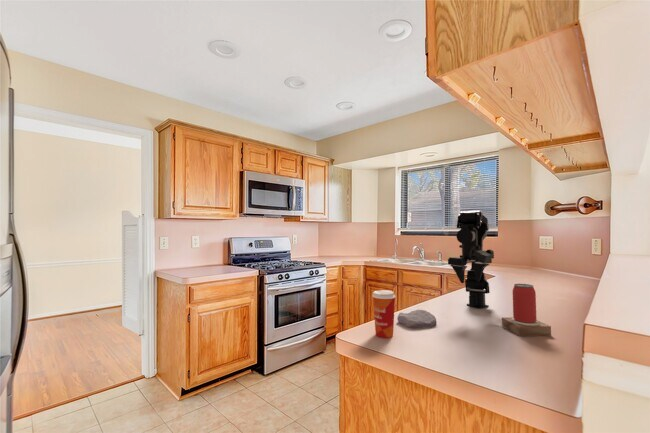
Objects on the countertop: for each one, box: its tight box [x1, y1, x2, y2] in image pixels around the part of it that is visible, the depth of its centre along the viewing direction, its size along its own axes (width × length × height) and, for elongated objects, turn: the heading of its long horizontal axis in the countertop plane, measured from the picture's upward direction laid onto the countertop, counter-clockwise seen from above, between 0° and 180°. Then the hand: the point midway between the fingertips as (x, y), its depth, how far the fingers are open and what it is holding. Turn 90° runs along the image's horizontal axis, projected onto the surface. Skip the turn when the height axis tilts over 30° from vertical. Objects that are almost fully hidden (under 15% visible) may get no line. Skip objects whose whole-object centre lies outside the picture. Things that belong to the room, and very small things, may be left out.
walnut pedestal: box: [501, 316, 552, 337], centre depth 104 cm, size 10×10×3 cm
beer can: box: [512, 283, 538, 323], centre depth 105 cm, size 7×7×12 cm
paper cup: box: [371, 289, 396, 339], centre depth 102 cm, size 8×8×14 cm
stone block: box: [396, 309, 438, 329], centre depth 113 cm, size 12×5×10 cm
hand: (470, 282), depth 124 cm, fingers open, 9 cm apart
